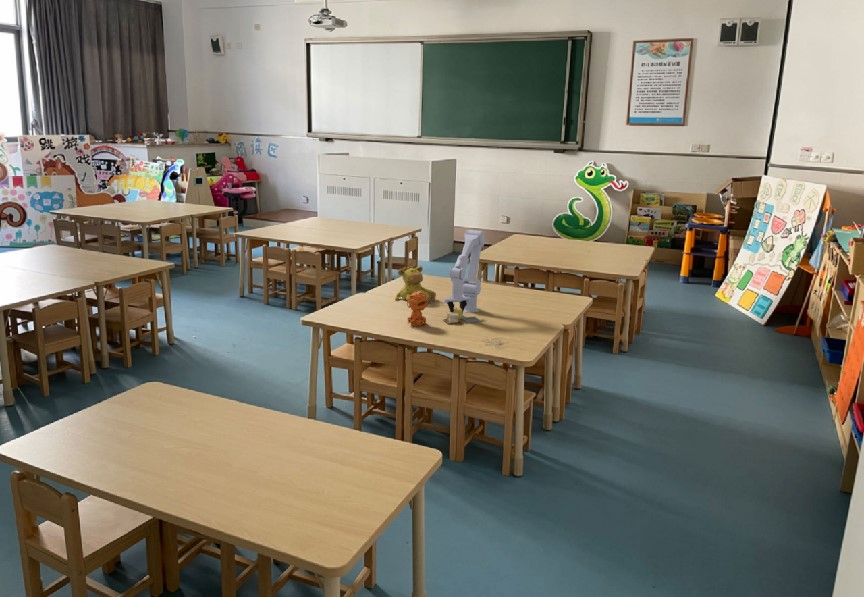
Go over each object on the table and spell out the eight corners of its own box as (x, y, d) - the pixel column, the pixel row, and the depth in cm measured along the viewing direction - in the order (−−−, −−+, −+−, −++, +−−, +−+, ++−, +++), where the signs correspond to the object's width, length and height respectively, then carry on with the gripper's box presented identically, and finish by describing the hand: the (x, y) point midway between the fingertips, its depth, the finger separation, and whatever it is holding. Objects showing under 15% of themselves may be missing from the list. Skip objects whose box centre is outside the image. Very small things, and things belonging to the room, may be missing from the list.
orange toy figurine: (429, 327, 335) (430, 293, 330) (408, 328, 333) (408, 293, 329) (426, 321, 346) (427, 287, 341) (405, 321, 344) (405, 288, 339)
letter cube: (450, 316, 354) (451, 307, 353) (458, 315, 356) (459, 307, 355) (454, 318, 350) (454, 310, 349) (462, 318, 352) (462, 309, 351)
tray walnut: (442, 321, 347) (443, 319, 346) (456, 319, 349) (456, 318, 349) (448, 325, 340) (448, 323, 340) (461, 324, 342) (461, 322, 342)
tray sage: (447, 316, 355) (447, 314, 355) (460, 315, 358) (460, 313, 357) (452, 320, 348) (452, 318, 348) (465, 319, 351) (465, 317, 351)
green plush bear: (421, 307, 372) (422, 273, 367) (386, 300, 384) (386, 267, 379) (440, 299, 389) (441, 266, 384) (406, 293, 401) (406, 261, 396)
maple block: (446, 321, 346) (446, 312, 345) (454, 320, 347) (455, 312, 346) (449, 323, 342) (450, 315, 341) (458, 322, 343) (458, 314, 342)
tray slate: (461, 319, 350) (461, 317, 350) (474, 318, 353) (475, 316, 352) (467, 323, 343) (467, 321, 343) (480, 322, 346) (480, 320, 346)
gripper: (447, 292, 343) (446, 318, 347) (473, 291, 348) (472, 316, 351) (442, 289, 350) (441, 314, 353) (467, 287, 354) (467, 312, 358)
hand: (456, 315), depth 353 cm, fingers closed on letter cube, 4 cm apart
